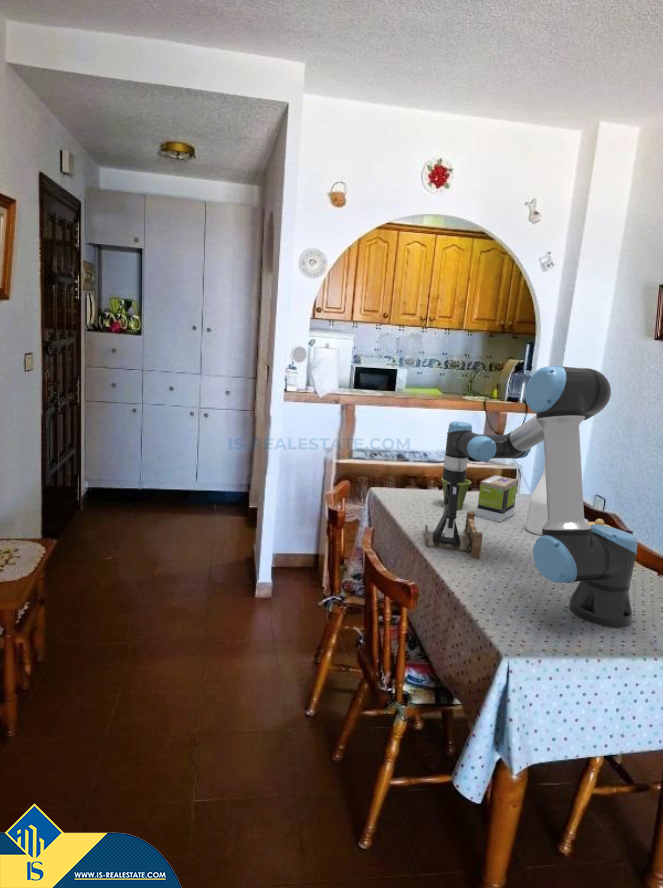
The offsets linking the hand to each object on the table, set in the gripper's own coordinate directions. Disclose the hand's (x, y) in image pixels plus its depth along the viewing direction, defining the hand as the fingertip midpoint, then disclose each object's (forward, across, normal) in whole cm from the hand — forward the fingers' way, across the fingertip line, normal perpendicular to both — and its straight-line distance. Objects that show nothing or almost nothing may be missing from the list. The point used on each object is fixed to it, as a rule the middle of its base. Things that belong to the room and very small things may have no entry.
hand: (447, 530), depth 206 cm
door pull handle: (+4, 0, -8) cm, 9 cm away
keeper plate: (+4, 0, 0) cm, 4 cm away
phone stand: (+4, 0, 0) cm, 4 cm away
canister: (+4, -13, -44) cm, 46 cm away
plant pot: (+4, +44, -6) cm, 45 cm away
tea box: (+4, +38, -22) cm, 44 cm away
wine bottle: (+4, +24, -36) cm, 43 cm away
